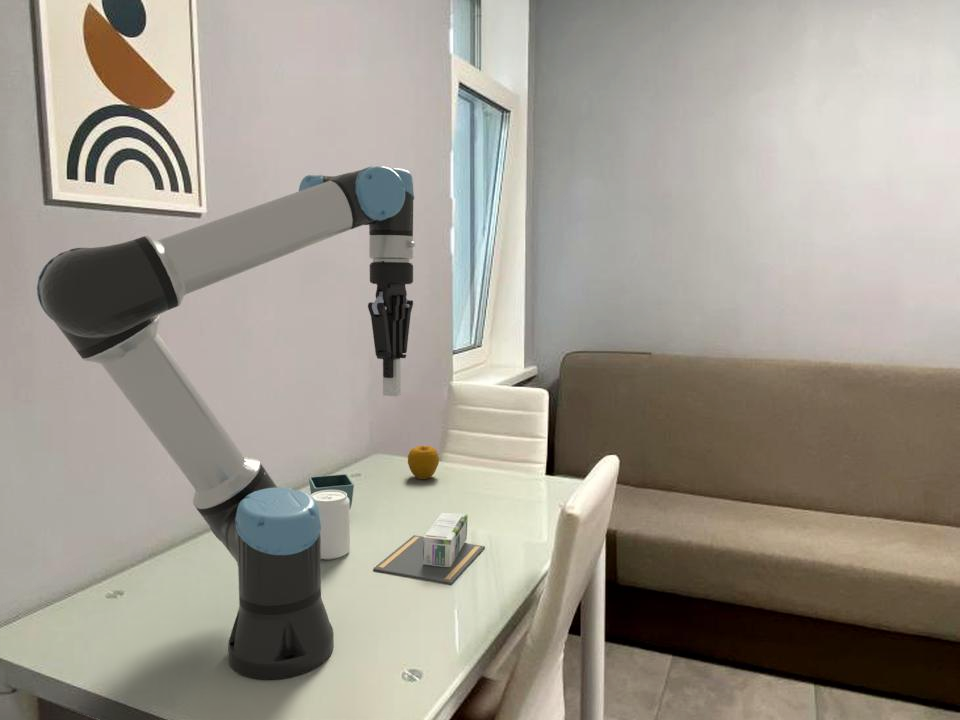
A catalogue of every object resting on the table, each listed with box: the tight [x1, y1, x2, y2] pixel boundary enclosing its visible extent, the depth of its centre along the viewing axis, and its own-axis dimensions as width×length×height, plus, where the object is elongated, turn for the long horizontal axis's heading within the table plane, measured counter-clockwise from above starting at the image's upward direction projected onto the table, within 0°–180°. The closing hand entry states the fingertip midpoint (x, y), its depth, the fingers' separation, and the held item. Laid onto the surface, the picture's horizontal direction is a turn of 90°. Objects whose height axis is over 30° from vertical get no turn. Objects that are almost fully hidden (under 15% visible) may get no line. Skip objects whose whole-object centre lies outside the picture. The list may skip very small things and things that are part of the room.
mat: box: [372, 534, 486, 585], centre depth 139 cm, size 18×16×1 cm
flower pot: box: [308, 473, 355, 509], centre depth 160 cm, size 9×9×9 cm
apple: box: [407, 445, 440, 480], centre depth 193 cm, size 8×8×9 cm
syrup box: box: [423, 512, 468, 567], centre depth 141 cm, size 6×6×14 cm
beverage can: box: [310, 490, 351, 560], centre depth 141 cm, size 8×8×12 cm
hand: (391, 395), depth 126 cm, fingers closed
